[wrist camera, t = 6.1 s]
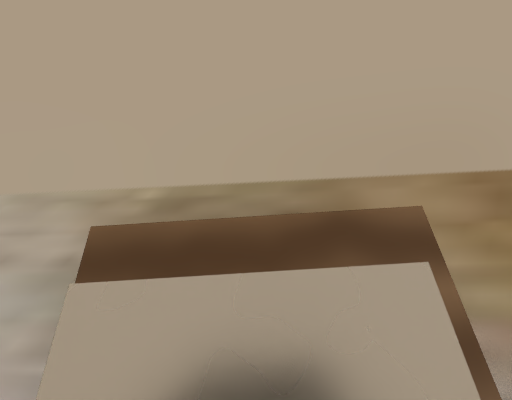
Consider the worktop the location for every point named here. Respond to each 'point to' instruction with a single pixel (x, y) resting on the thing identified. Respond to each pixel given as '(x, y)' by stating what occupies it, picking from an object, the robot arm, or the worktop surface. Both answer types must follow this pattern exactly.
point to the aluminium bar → (260, 338)
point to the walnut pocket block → (282, 255)
